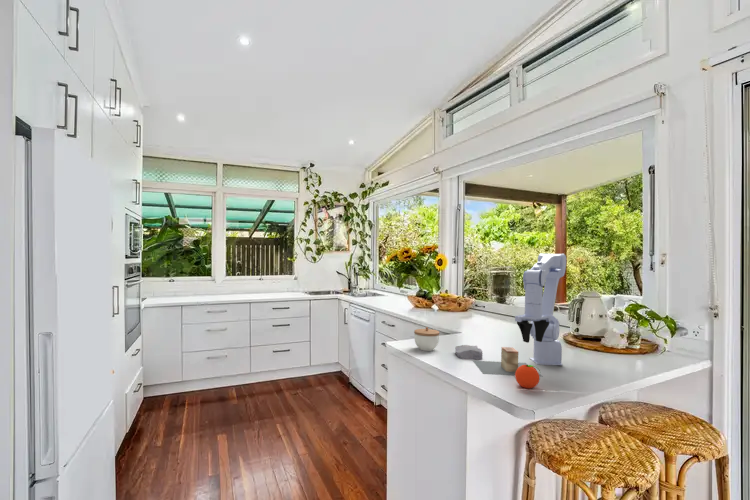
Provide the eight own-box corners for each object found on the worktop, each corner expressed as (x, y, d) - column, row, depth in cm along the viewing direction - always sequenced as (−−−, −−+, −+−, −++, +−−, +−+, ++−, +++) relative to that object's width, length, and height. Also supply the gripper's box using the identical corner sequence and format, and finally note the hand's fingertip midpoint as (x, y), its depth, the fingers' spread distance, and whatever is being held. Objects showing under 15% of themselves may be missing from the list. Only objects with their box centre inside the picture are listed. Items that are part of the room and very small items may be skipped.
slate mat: (525, 363, 139) (525, 362, 139) (543, 377, 123) (543, 376, 123) (472, 361, 140) (472, 360, 140) (483, 374, 124) (483, 373, 124)
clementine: (533, 383, 117) (534, 361, 117) (547, 391, 110) (547, 367, 110) (510, 384, 115) (511, 361, 115) (522, 392, 108) (523, 368, 109)
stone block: (459, 364, 142) (485, 360, 142) (457, 352, 142) (482, 348, 142) (453, 357, 154) (477, 353, 154) (451, 346, 154) (475, 342, 154)
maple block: (512, 366, 133) (512, 347, 134) (517, 371, 127) (518, 351, 128) (501, 366, 134) (501, 347, 134) (506, 371, 128) (506, 351, 128)
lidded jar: (429, 345, 164) (430, 324, 164) (444, 351, 154) (444, 328, 154) (409, 347, 159) (409, 325, 159) (422, 353, 149) (423, 330, 150)
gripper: (540, 301, 137) (539, 338, 137) (509, 302, 132) (508, 339, 131) (555, 304, 130) (554, 342, 130) (523, 304, 125) (522, 344, 125)
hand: (532, 341), depth 130 cm, fingers open, 5 cm apart
